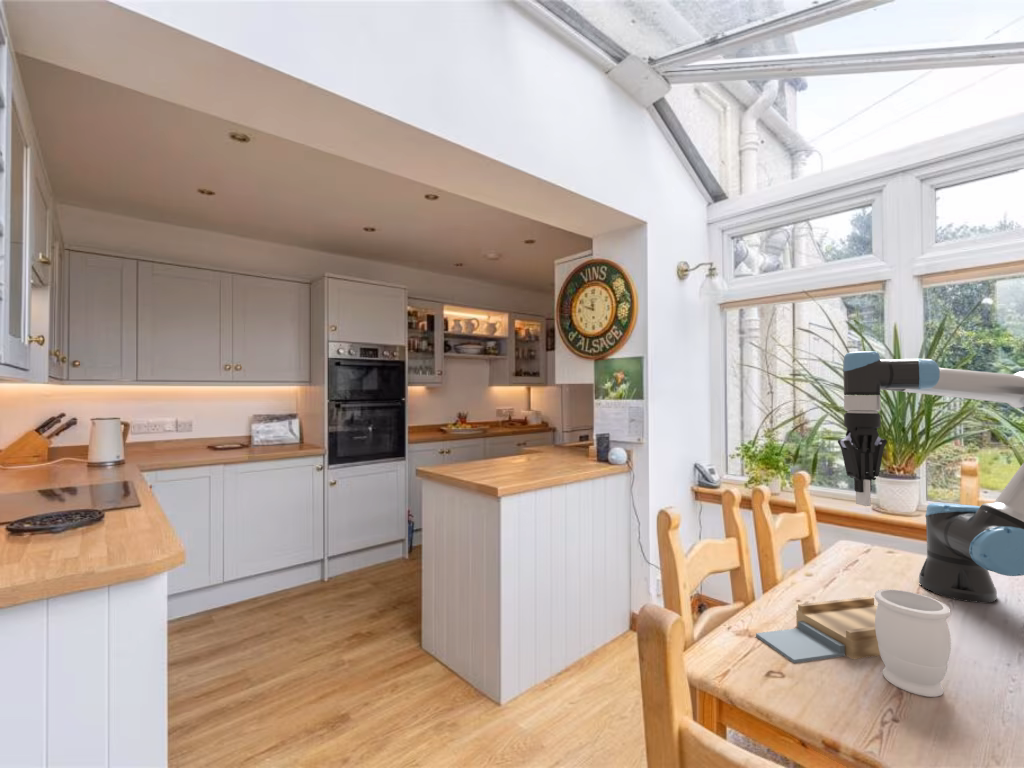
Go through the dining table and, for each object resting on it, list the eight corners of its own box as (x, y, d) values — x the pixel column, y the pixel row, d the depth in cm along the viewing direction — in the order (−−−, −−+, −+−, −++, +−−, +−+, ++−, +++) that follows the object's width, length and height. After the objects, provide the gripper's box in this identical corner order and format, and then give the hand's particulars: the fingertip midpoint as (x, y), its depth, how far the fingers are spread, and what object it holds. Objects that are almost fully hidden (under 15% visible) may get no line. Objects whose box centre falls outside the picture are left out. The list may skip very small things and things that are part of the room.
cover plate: (802, 632, 105) (802, 620, 105) (844, 658, 95) (844, 645, 95) (756, 638, 103) (755, 626, 103) (794, 665, 92) (794, 652, 93)
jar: (966, 696, 82) (965, 609, 83) (924, 707, 79) (923, 617, 80) (901, 662, 93) (900, 585, 93) (861, 671, 90) (860, 591, 90)
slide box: (868, 616, 112) (868, 595, 112) (932, 648, 98) (932, 623, 98) (796, 625, 107) (796, 603, 107) (853, 659, 94) (852, 634, 94)
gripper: (868, 411, 126) (870, 500, 125) (827, 411, 123) (829, 502, 123) (897, 412, 119) (898, 506, 118) (854, 412, 116) (855, 509, 115)
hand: (863, 504), depth 120 cm, fingers closed
